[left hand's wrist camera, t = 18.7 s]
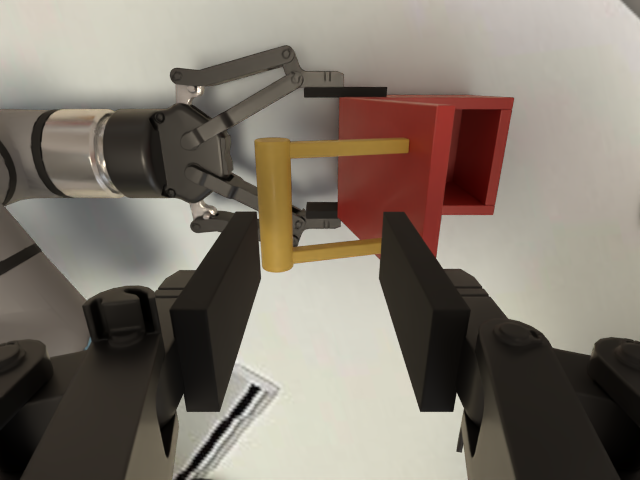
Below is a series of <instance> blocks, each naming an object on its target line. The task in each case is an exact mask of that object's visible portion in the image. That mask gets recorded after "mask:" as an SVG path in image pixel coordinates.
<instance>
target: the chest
mask: <svg viewBox="0 0 640 480" xmlns="http://www.w3.org/2000/svg"><path fill="white" fill-rule="evenodd" d="M340 98H364V99H378V100H392V101H405V102H419V103H433V104H446V105H455V113H454V121H453V129H452V137H451V144H450V152H449V160H448V168H447V176H446V184H445V192H444V200H443V207H442V215H493V213H494V207H495V206H494V205H495V202H496V196H497V191H498V185H499V179H500V174H501V168H502V163H503V157H504V152H505V146H506V141H507V135H508V130H509V124H510V119H511V113H512V110H511V109H512V107H513V102H514V98H513V97H494V96H476V95H387V97H339V117H340ZM338 168H339V156H338Z"/></svg>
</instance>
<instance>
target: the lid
mask: <svg viewBox="0 0 640 480" xmlns="http://www.w3.org/2000/svg"><path fill="white" fill-rule="evenodd" d="M454 113H455V105H446V104H433V103H419V102H405V101H392V100H378V99H364V98H340V117H339V140H322V141H293V142H290V140H289V139H287V138H260V139H256V140H255V141H254V142H255V159H256V175H257V191H258V207H259V223H260V239H261V255H262V267H263V269H264V270H266V271H269V272H284V271H287V270H290V269H291V268H292V267H293V264H295V263H303V262H312V261H321V260H329V259H338V258H347V257H355V256H364V255H372V254H375V255H376V256H377V257H378V258H379V259H380V255H381V240H382V225H383V212H405V214H406V215H407V217H408V218H409V220H410V221H411V222H412V224H413V225H414V227H415V228H416V230H417V231H418V233H419V234H420V236H421V237H422V239H423V240H424V242H425V243H426V245H427V246H428V247H429V249H430V250H431V252H432V253H433V255H434V256H435V258H436V255H437V247H438V239H439V231H440V223H441V215H442V207H443V200H444V192H445V184H446V176H447V168H448V160H449V152H450V144H451V137H452V129H453V121H454ZM335 156H339V168H338V218H339V219H340V220H341V221H342V222H343V223H344V224H345V225H346V226H347V227H348V228H349V229H350V230H351V231H352V232H353V233H354V234H355V235H356V236H357V237H358V238H359V239H360V240H356V241H346V242H337V243H327V244H318V245H308V246H299V247H293V230H292V194H291V159H292V158H313V157H335Z"/></svg>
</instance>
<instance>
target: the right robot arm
mask: <svg viewBox="0 0 640 480" xmlns="http://www.w3.org/2000/svg"><path fill="white" fill-rule="evenodd" d="M279 67H283V68H284V71H285V74H286V76H284V77H283V78H281V79H279V80H278V81H276V82H274V83H272V84H271V85H269V86H267V87H266V88H264V89H262V90H261V91H259V92H257V93H256V94H254V95H252V96H251V97H249V98H247V99H245V100H244V101H242V102H240V103H239V104H237V105H235V106H234V107H232V108H230V109H229V110H227V111H225V112H223V113H221V114H219V115H218V116H216V117H214V118H213V119H212V118H211V117H209V116H208V115H206V114H205V113H204V112H202V111H201V110H199V109H198V108H196V107H195V106H194V105H192V101H193V99H194V98H195V97H198V96H201V95H202V94H203V93H204V90H205V87H204V86H215V85H220V84H223V83H227V82H230V81H234V80H237V79H241V78H244V77H248V76H251V75H255V74H258V73H262V72H265V71H269V70H272V69H276V68H279ZM170 78H171V80H172V82H174V83H175V84H176V104H174V105H173V106H171V107H170V108H167V109H119V110H117V111H113V110H110V109H61V110H19V109H0V344H2V343H7V342H9V341H14V340H25V339H32V340H39V341H41V342H42V343H44V344H45V345H46V348H47V351H48V354H49V357H54V356H59V355H64V354H69V353H75V352H80V351H84V350H87V349H88V347H89V345H90V343H91V338H90V334H89V330H88V327H87V323H86V319H85V316H84V312H83V308H82V305H83V304H84V303H85V302H86V299H85V298H84V297H83V296H82V295H81V294H80V293H79V292H78V291H77V290H76V289H75V287H74V286H73V285H72V284H71V283H70V282H69V281H68V280H67V279H66V278H65V277H64V275H63V274H62V273H61V272H60V271H59V270H58V269H57V268H56V267H55V266H54V265H53V263H52V262H51V261H50V260H49V259H48V258H47V257H46V256H45V255H44V254H43V253H42V251H41V249H40V248H39V247H38V245H37V244H36V243H35V242H34V240H33V239H32V238H31V237H30V236H29V235H28V234H27V232H26V231H25V230H24V229H23V228H22V227H21V225H20V224H19V223H18V222H17V221H16V220H15V218H14V217H13V216H12V215H11V214H10V213H9V211H8V210H7V209H6V208H5V207H4V206H6V205H9V204H12V203H14V202H17V201H19V200H24V199H31V198H121V197H124V196H126V197H129V198H178V199H181V200H184V201H186V202H188V203H190V207H191V211H192V215H193V221H192V223H191V225H190V227H191V230H192V231H193V232H195V233H203V232H214V231H218V232H222V231H223V230H224V228H225V227H226V225H227V224H228V222H229V221H230V220H231V218H232V217H233V215H234V214H235V213H231V212H226V211H217V209H216V208H215V207H214V206H211V205H207V204H206V203H205V202H204V200H203V199H204V198H205V197H207V196H208V195H209V194H211V193H212V192H213V191H214V192H216V193H218V194H220V195H222V196H224V197H226V198H230V199H235V200H237V201H239V202H241V203H243V204H245V205H247V206H249V207H251V208H253V209H255V210H257V211H259V207H258V191H257V187H256V186H254V185H252V184H250V183H248V182H246V181H244V180H243V179H242V178H241V177H239V176H237V175H235V174H233V173H231V172H232V171H233V161H232V159H231V156H230V147H231V138H230V135H228V132H227V131H226V130H228V129H229V128H231V127H233V126H235V125H236V124H238V123H240V122H241V121H243V120H245V119H246V118H248V117H250V116H252V115H253V114H255V113H257V112H258V111H260V110H262V109H264V108H265V107H267V106H269V105H270V104H272V103H274V102H276V101H277V100H279V99H281V98H282V97H284V96H286V95H288V94H289V93H291V92H293V91H294V90H296V89H298V88H304V97H387V87H344V74H342V73H340V72H338V71H304V70H302V69H301V68H300V66H299V63H298V60H297V57H296V54H295V52H294V50H293V49H292V48H291V47H290V46H287V45H286V46H281V47H278V48H274V49H271V50H267V51H264V52H260V53H257V54H253V55H250V56H246V57H243V58H240V59H236V60H233V61H229V62H226V63H222V64H219V65H215V66H212V67H208V68H205V69H202V70H192V69H183V68H174V69H172V71H171V72H170ZM257 225H258V240H259V241H261V239H260V223H259V219H257ZM338 227H341V220H340V219H339V218H338V202H307V206H306V210H305V209H304V208H303V210H301V209H299V208H297V207H295V206H293V205H292V230H293V247H297V246H298V243H299V240H300V237H301V234H302V232H303V231H304V230H306V229H324V228H325V229H328V228H329V229H335V228H338Z"/></svg>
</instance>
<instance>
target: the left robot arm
mask: <svg viewBox="0 0 640 480" xmlns="http://www.w3.org/2000/svg"><path fill="white" fill-rule="evenodd" d="M260 280H261V271H260V255H259V240H258V225H257V212H235V214H234V215H233V217H232V218H231V220H230V221H229V222H228V224H227V225H226V227H225V228H224V230H223V231H222V233H221V234H220V236H219V237H218V239H217V240H216V242H215V243H214V245H213V246H212V247H211V249H210V250H209V252H208V253H207V255H206V256H205V258H204V259H203V261H202V262H201V264H200V265H199V267H198V268H197V270H179V271H178V272H176V273H174V274H173V275H171V276H169V277H168V278H166V279H165V280H164V281H163V283H162V284H161V285H160V286H159V288H158V290H156V291H155V293H154V291H152V290H151V289H150V288H148V287H143V286H123V287H118V288H113V289H110V290H107V291H104V292H101V293H99V294H97V295H95V296H93V297H92V298H90V299H88V300H87V301H86V302H85V303H84V304H83V305H82V308H83V312H84V316H85V319H86V323H87V327H88V330H89V334H90V338H91V343H90V345H89V347H88V349H87V350H84V351H80V352H75V353H69V354H64V355H59V356H54V357H49V354H48V351H47V348H46V345H45V344H44V343H42V342H41V341H39V340H32V339H25V340H14V341H9V342H7V343H2V344H0V480H172V476H173V469H174V461H175V453H176V445H177V438H178V430H179V423H178V417H177V411H176V409H177V407H178V405H179V402H180V400H181V398H182V396H183V393H184V399H185V405H186V410H187V412H220V409H221V406H222V403H223V400H224V396H225V393H226V390H227V387H228V383H229V380H230V377H231V374H232V370H233V367H234V364H235V361H236V358H237V354H238V351H239V348H240V345H241V341H242V338H243V335H244V332H245V328H246V325H247V322H248V319H249V316H250V312H251V309H252V306H253V303H254V299H255V296H256V293H257V290H258V286H259V283H260ZM379 280H380V283H381V286H382V290H383V293H384V296H385V299H386V303H387V306H388V309H389V312H390V316H391V319H392V322H393V325H394V328H395V332H396V335H397V338H398V341H399V345H400V348H401V351H402V354H403V358H404V361H405V364H406V367H407V370H408V374H409V377H410V380H411V383H412V387H413V390H414V393H415V396H416V400H417V403H418V406H419V409H420V412H453V410H454V404H455V399H456V393H457V394H458V396H459V398H460V400H461V403H462V405H463V407H464V411H463V417H462V422H461V427H460V433H459V438H458V444H457V451H456V452H461V453H462V448H463V444H464V452H465V460H466V468H467V475H468V480H640V342H639V341H633V340H631V339H626V338H624V339H623V338H614V337H610V338H603V339H600V340H599V341H597V342H596V343H595V345H594V348H593V351H592V354H591V356H590V355H585V354H580V353H575V352H569V351H564V350H559V349H555V348H552V346H551V344H550V343H549V341H548V340H547V338H546V337H545V336H544V335H543V334H542V333H541V332H540V331H538V330H537V329H535V328H534V327H532V326H530V325H527V324H525V323H522V322H520V321H516V320H511V319H508V318H507V317H506V315H505V314H504V313H503V312H502V311H501V309H500V308H499V307H498V306H497V304H496V303H495V302H494V301H493V300H492V298H491V297H489V295H488V293H487V292H486V291H485V290H484V289H482V286H481V285H480V284H479V282H478V281H477V280H476V279H475V277H473V276H471V275H470V274H468V273H466V272H465V271H463V270H461V269H443V268H442V267H441V265H440V264H439V262H438V261H437V259H436V258H435V256H434V255H433V253H432V252H431V250H430V249H429V247H428V246H427V245H426V243H425V242H424V240H423V239H422V237H421V236H420V234H419V233H418V231H417V230H416V228H415V227H414V225H413V224H412V222H411V221H410V220H409V218H408V217H407V215H406V214H405V212H383V225H382V240H381V255H380V271H379Z"/></svg>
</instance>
